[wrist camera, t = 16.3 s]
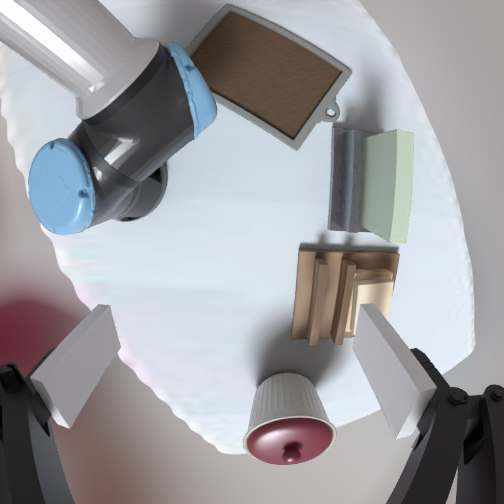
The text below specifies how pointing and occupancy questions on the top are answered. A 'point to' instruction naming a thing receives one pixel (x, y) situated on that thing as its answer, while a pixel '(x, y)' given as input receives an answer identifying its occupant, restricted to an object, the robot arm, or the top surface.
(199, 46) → the grey brown flat board
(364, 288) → the offcut upper
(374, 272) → the offcut lower
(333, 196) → the stand
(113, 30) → the robot arm
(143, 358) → the top surface
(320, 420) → the canister
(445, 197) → the top surface
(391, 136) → the panel
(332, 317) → the rack
